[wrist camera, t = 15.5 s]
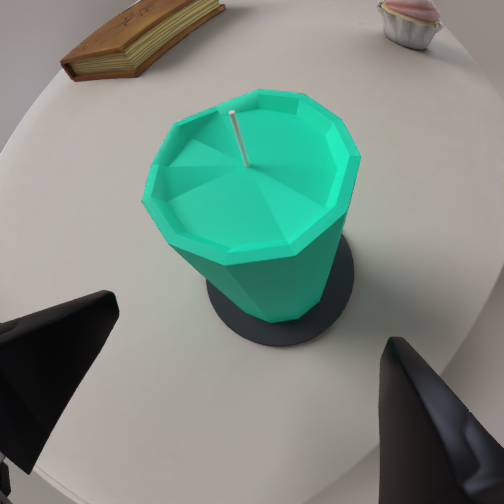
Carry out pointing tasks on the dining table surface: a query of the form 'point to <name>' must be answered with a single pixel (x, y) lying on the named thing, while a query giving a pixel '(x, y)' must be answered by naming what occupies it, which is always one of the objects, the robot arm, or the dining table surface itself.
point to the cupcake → (410, 22)
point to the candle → (257, 198)
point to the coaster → (296, 329)
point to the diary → (136, 38)
